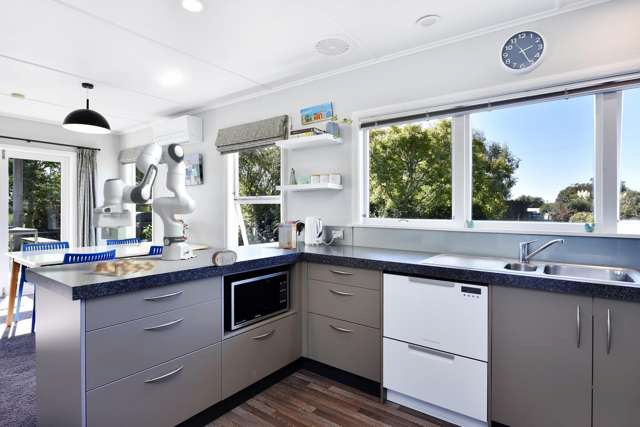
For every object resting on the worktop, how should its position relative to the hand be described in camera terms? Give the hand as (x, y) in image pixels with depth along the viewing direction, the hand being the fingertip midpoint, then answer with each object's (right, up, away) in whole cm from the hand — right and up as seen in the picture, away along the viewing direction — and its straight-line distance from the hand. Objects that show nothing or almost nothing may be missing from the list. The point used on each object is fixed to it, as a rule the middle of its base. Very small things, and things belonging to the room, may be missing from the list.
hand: (113, 235), depth 178 cm
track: (+11, -17, -9) cm, 22 cm away
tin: (+55, -18, +12) cm, 59 cm away
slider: (0, -2, 0) cm, 2 cm away
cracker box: (+81, -18, +102) cm, 132 cm away
